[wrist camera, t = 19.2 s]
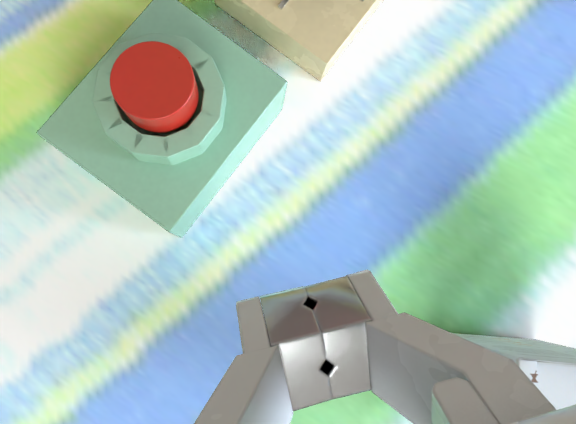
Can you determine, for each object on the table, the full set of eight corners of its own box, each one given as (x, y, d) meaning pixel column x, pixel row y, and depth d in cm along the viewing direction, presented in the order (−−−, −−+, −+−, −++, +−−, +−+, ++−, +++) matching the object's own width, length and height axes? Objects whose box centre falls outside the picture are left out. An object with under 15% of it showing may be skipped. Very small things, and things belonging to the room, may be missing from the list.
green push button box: (175, 30, 34) (155, -33, 27) (282, 109, 34) (291, 67, 27) (68, 154, 32) (18, 121, 25) (181, 238, 32) (162, 229, 25)
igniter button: (154, 46, 27) (145, 24, 24) (214, 90, 26) (210, 73, 24) (105, 102, 26) (91, 86, 24) (167, 148, 26) (158, 135, 23)
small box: (426, 410, 32) (513, 479, 21) (430, 328, 32) (516, 356, 22) (535, 418, 32) (671, 488, 22) (536, 338, 33) (669, 369, 22)
